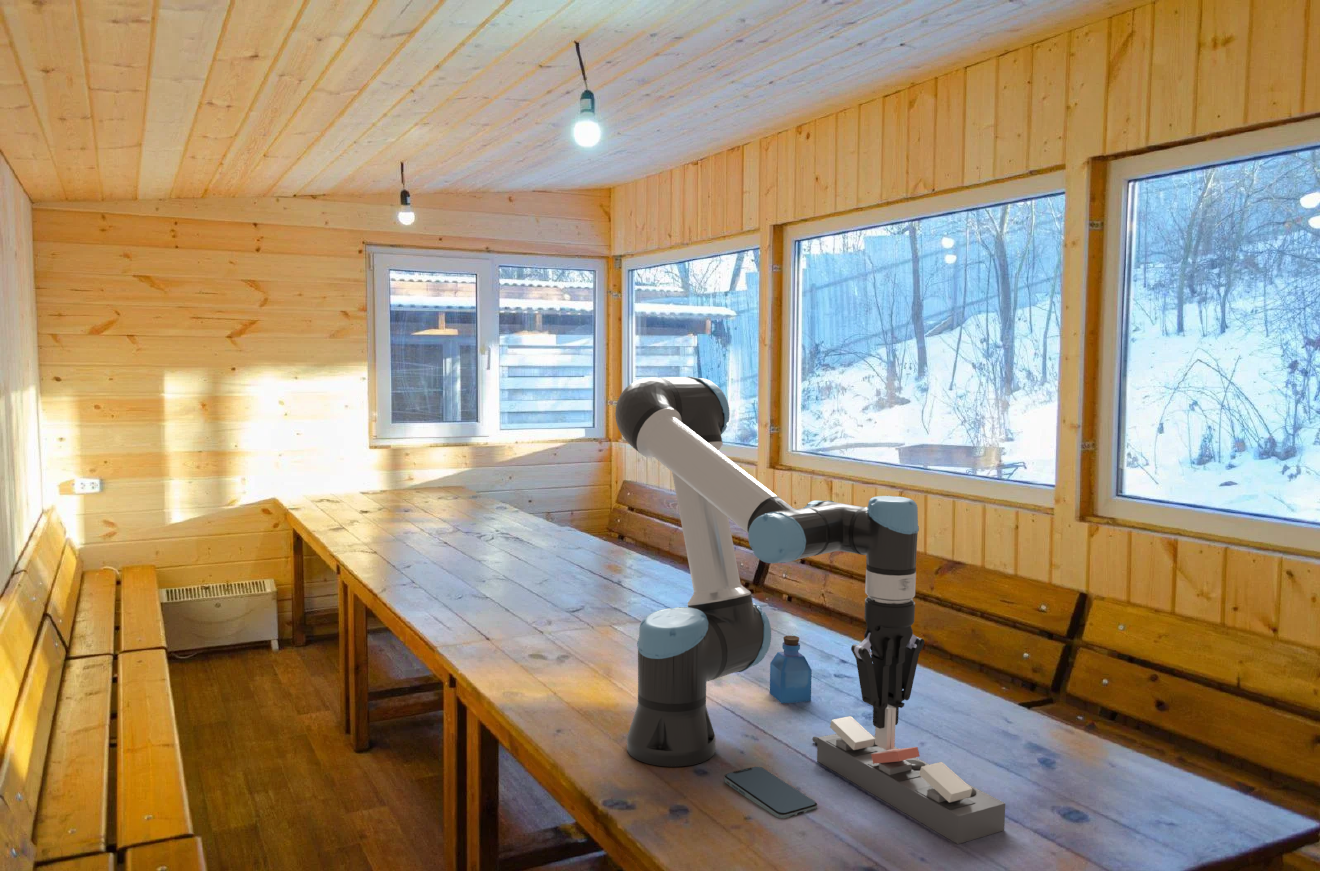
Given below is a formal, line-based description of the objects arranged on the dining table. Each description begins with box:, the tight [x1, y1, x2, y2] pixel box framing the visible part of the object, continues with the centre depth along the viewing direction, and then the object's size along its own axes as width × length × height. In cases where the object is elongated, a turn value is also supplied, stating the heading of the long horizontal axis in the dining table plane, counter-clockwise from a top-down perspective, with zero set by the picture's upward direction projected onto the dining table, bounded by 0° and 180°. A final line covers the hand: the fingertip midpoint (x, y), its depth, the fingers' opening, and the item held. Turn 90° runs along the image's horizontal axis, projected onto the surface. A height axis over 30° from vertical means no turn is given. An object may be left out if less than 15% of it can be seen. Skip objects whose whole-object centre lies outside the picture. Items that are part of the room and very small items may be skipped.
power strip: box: [812, 733, 1006, 845], centre depth 158 cm, size 39×9×5 cm, turn 28°
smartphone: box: [723, 766, 818, 819], centre depth 154 cm, size 8×2×15 cm
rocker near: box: [919, 761, 972, 803], centre depth 144 cm, size 6×4×1 cm, turn 28°
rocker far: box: [829, 715, 875, 750], centre depth 163 cm, size 6×4×1 cm, turn 28°
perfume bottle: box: [769, 635, 813, 704], centre depth 198 cm, size 6×6×12 cm
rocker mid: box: [871, 746, 921, 764], centre depth 154 cm, size 6×4×1 cm, turn 28°
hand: (884, 745), depth 156 cm, fingers closed
